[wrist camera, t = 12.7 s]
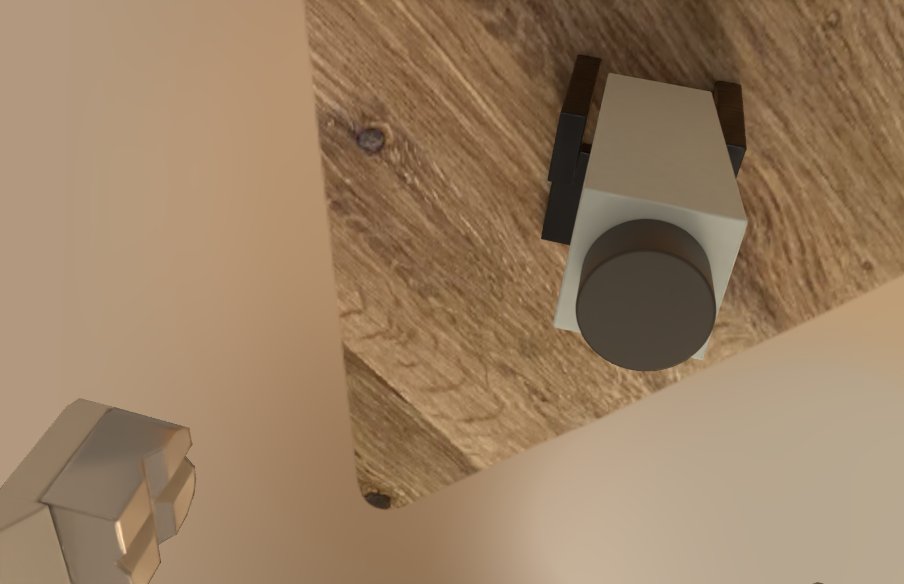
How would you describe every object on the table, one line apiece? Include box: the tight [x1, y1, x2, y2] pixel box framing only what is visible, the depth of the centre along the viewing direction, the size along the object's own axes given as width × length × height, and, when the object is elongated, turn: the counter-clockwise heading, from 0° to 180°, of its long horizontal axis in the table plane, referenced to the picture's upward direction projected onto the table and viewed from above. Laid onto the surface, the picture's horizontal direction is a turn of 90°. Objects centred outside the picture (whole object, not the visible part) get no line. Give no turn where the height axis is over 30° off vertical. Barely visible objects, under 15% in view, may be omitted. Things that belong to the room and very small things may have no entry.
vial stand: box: [541, 55, 747, 245], centre depth 36 cm, size 9×7×6 cm
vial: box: [553, 73, 748, 371], centre depth 27 cm, size 16×4×4 cm
